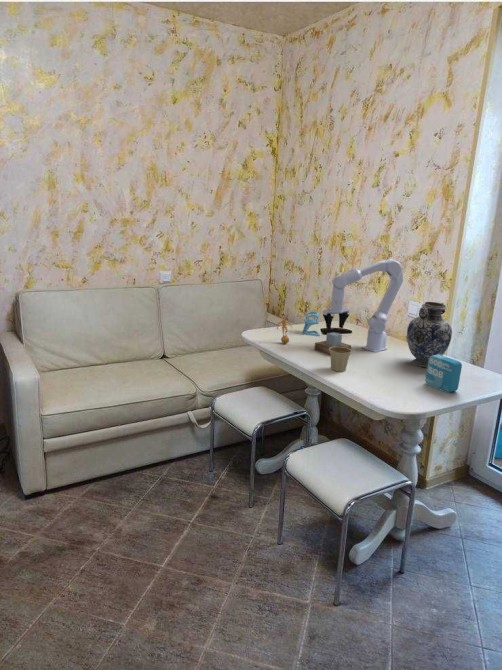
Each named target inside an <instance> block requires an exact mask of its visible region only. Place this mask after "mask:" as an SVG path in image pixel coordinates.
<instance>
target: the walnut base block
mask: <svg viewBox="0 0 502 670" xmlns="http://www.w3.org/2000/svg"><path fill="white" fill-rule="evenodd" d="M331 347H344V348H348V349H350V350H351V351H352V345H350V344H347V343H344V342H342V341H341V345H338V346H331V345H328V344H326V340H323V341H318V342H317V341H316V342H315V343H314V351H317V352H319V353H323V354H325V355H328V356H330V351H329V348H331Z"/></svg>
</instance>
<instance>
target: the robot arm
mask: <svg viewBox="0 0 502 670" xmlns="http://www.w3.org/2000/svg"><path fill="white" fill-rule="evenodd" d="M403 269H404V268H403V265H402V264H401V263H400V261H398V260H395V259H393V258H391V257H390V258H387V259H383V260H380V261H377V262H374V263H373V264H371V265H368V266H367V267H364V268H362V269H358V268H351V269H350V270H349V271H346V272H342V273H341V274H338V275H335V276H334V277H333V278H332V281H331V282H332V285H333V286H332V291H331V292H332V293H331V299H330V300H331V301H330V308H329V309H324V310H322V316H323V319H324V321H325V326H326V329H327V330H331V328H332V322H333V319H334V316H333V315H338V328H340V329H343V328H344V325H345V323H346V321H347V319H348V318H349V317H350V310H351V309H350V308H344V307H343V306H344V301H345V300H344V299H345V289H346V286H349V285H351V284H354V283H356V282H359V281H361V280H362V277H366V276H368V275H371V274H374V273H376V272H382V273H383V272H384V273H386V274H388V277H389V279H390V282H389V284H388V285H387V288H386V290H385V292H384V294H383V297H382V299H381V301H380V304H379V306H378V308H377V310H376V311H375V312H374V313H373V314H372V315H371V317H370V318H368V320H367V321H368V322H367V324H368V326H369V328H368V331H367V339H366V345H365V346H362V349H364V350H367V351H371V352H374V353H377V352H378V353H379V352H382V351H385V350H388V348H387V347H386V346H387V345H386V344H387V337H388V336H387V332H385V329H386V323H387V320H388V314H389V311H390V309H391V308H392V305H393V303H394V301H395V300H396V297H397V295H398V292H399V291H400V289H401V286H402V284H403V283H404V275H403Z"/></svg>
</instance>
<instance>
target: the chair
mask: <svg viewBox="0 0 502 670" xmlns="http://www.w3.org/2000/svg"><path fill="white" fill-rule="evenodd" d="M304 315H305V319H303V321H304V326H303V330H302V332H301V333H302V334H303V335H304V334H306V335H305V336H314V335H315V336H316V337H320V332H318V331H317V330H309V329H310V327H311V326H314V325H319V323H320V322H319V316H320V315H319V312H317V311H309V312H306V313H304ZM312 317H314V318H313V319H310V318H312ZM313 332H314V333H313ZM315 332H316V333H315ZM315 336H314V337H315Z"/></svg>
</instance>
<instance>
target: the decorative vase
mask: <svg viewBox="0 0 502 670" xmlns="http://www.w3.org/2000/svg"><path fill="white" fill-rule="evenodd" d="M421 306H422V307H420V308H419V311H418V315H417V316H416V317H414V318H413V319H412V320H410V321H409V324H408V326H407V330H406V331H407V332H406V340H407V341H406V342H407V346H408V349H409V351H410V354H411V355H412V356H413V357H414V359H413V360H412V361H411V363H412V364H413V365H414V366H416V367H419V366H420V367H419V368H424V367H426V368H425V369H427V366H428V360H429V357H430V356H432V355H442V356H444V354H445V352H447V350H448V348H449V346H450V344H451V340H452V336H453V328H452V325H451V323H450V322H449V321H447V320H446V319H444V318H443V316H442V315H444V314H445V312H446V309H447V308H446V304H445V303H444V302H437V301H425V302H424V304H422V305H421Z"/></svg>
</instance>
